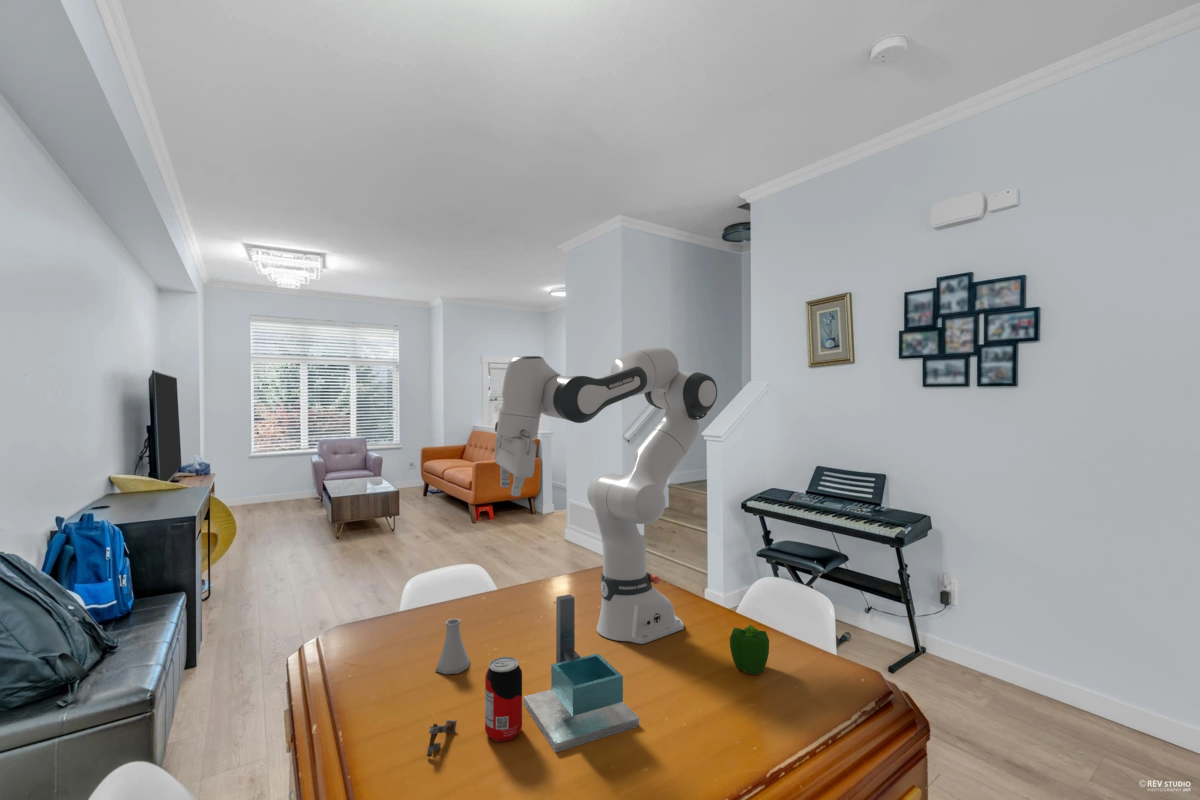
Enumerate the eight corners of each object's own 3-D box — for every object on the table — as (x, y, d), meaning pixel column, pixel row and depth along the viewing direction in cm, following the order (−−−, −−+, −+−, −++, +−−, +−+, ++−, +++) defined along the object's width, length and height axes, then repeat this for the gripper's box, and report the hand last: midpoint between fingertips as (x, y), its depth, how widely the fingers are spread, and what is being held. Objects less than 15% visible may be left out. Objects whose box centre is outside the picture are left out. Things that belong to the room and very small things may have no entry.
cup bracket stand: (598, 684, 108) (598, 588, 109) (639, 726, 94) (638, 615, 94) (523, 704, 101) (523, 601, 101) (555, 752, 87) (555, 632, 87)
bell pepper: (731, 657, 120) (731, 613, 120) (769, 663, 117) (769, 617, 117) (727, 675, 112) (727, 627, 112) (768, 681, 109) (768, 632, 110)
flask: (460, 677, 111) (460, 629, 112) (429, 674, 113) (429, 626, 113) (475, 661, 118) (475, 616, 119) (445, 658, 120) (445, 613, 120)
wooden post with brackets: (420, 757, 85) (426, 724, 86) (442, 748, 92) (447, 718, 94) (431, 758, 84) (437, 725, 86) (452, 750, 91) (456, 719, 93)
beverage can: (520, 743, 89) (520, 671, 89) (482, 745, 89) (482, 673, 89) (523, 721, 95) (523, 654, 96) (487, 723, 95) (487, 655, 95)
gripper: (546, 434, 108) (537, 502, 107) (519, 425, 126) (512, 483, 126) (516, 431, 105) (507, 500, 105) (493, 423, 124) (485, 482, 124)
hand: (509, 491), depth 116 cm, fingers open, 8 cm apart
